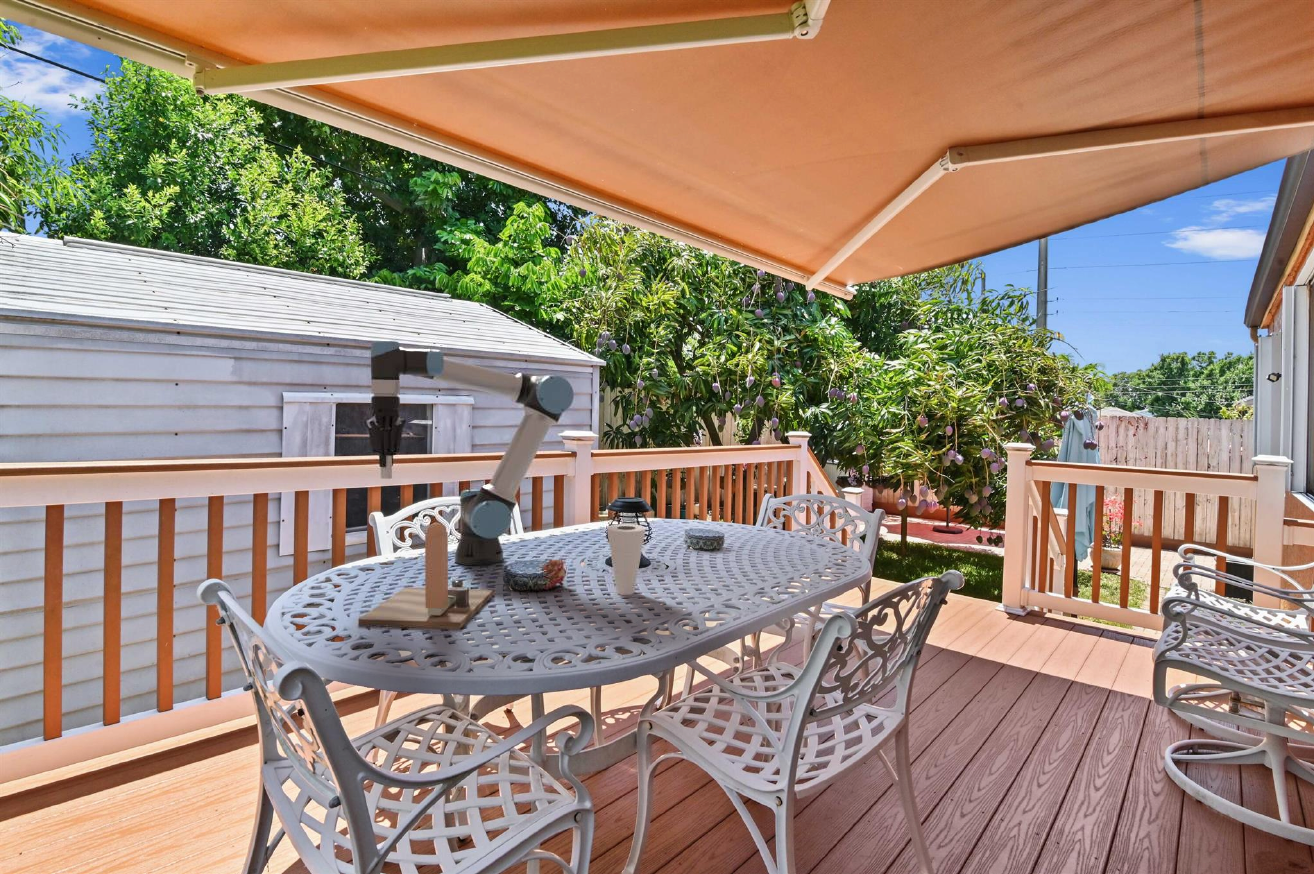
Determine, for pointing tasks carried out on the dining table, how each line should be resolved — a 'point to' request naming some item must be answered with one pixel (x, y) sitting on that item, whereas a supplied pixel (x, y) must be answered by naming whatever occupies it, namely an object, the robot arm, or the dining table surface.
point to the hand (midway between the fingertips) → (386, 478)
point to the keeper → (459, 593)
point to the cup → (625, 555)
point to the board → (423, 610)
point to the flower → (554, 572)
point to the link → (437, 570)
